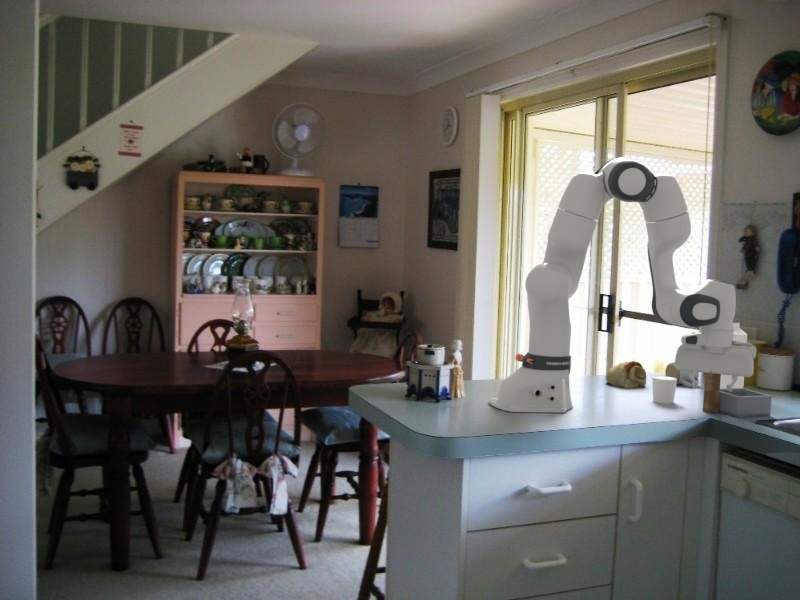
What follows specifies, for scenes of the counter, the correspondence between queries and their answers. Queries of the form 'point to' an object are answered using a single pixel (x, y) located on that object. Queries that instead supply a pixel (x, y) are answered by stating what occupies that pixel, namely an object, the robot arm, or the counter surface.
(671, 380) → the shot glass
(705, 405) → the brown wooden block
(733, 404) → the grey storage tray
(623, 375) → the pastry
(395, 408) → the counter surface
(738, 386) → the milk
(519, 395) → the robot arm
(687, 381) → the ceramic mug
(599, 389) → the counter surface
